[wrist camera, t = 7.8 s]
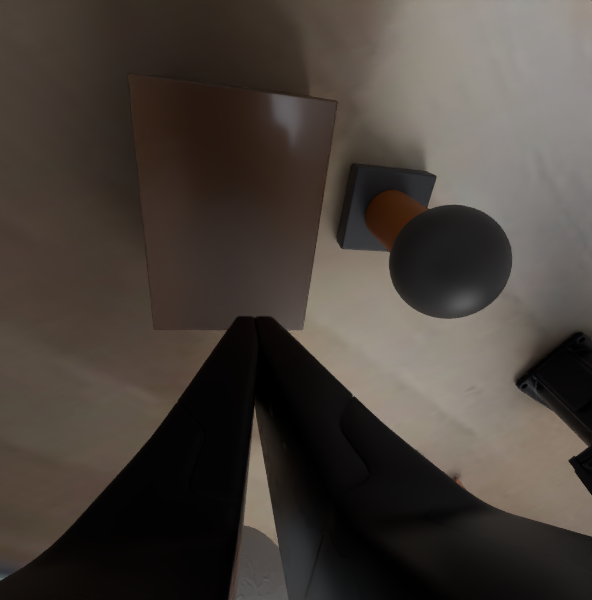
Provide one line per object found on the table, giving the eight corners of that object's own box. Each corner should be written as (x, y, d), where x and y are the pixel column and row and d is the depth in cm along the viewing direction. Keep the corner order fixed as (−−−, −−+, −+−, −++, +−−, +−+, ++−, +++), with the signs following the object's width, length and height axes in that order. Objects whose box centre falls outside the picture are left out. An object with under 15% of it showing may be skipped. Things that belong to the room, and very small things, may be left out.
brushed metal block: (311, 96, 17) (338, 101, 13) (289, 282, 22) (303, 330, 18) (154, 75, 16) (127, 72, 11) (169, 279, 21) (153, 330, 16)
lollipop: (160, 412, 26) (92, 732, 13) (250, 375, 25) (271, 669, 13) (207, 464, 30) (191, 750, 17) (287, 433, 29) (331, 703, 16)
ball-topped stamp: (388, 161, 21) (571, 207, 16) (371, 232, 23) (526, 294, 18) (287, 165, 16) (510, 237, 10) (277, 256, 18) (457, 356, 12)
